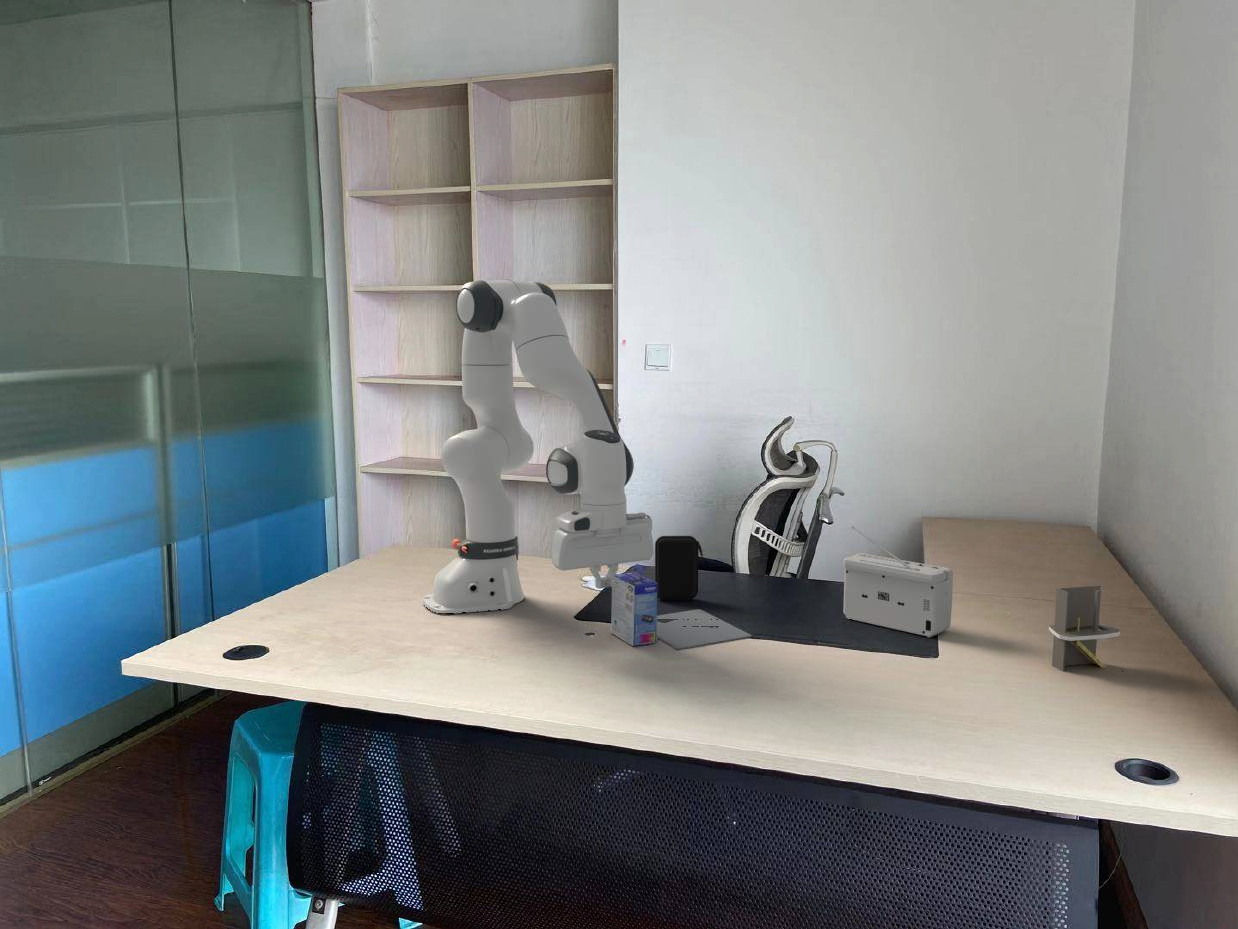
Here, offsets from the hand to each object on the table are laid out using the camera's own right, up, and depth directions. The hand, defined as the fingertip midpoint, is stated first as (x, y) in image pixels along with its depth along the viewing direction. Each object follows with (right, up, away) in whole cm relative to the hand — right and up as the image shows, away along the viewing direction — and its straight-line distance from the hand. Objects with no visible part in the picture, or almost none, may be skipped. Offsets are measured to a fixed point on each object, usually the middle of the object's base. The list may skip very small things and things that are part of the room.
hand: (604, 587), depth 179 cm
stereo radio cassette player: (+59, -10, +12) cm, 61 cm away
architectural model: (+85, -13, -13) cm, 87 cm away
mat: (+17, -10, +10) cm, 22 cm away
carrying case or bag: (+16, -7, +31) cm, 35 cm away
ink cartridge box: (+6, -11, +4) cm, 13 cm away
